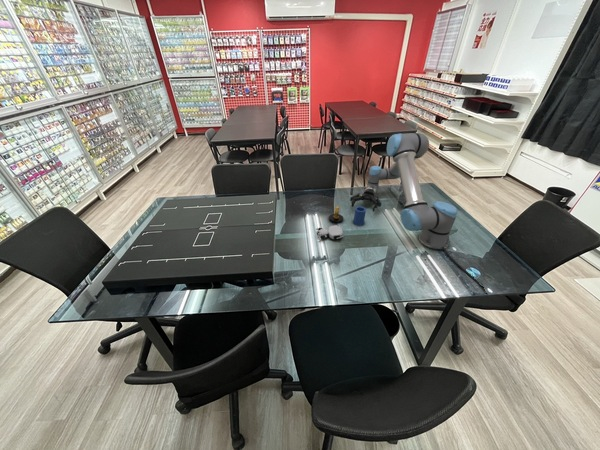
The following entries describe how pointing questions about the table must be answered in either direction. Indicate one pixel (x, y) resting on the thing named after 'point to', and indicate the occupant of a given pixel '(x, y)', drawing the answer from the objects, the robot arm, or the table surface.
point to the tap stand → (336, 217)
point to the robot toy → (330, 232)
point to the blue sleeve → (359, 216)
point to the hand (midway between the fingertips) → (362, 207)
